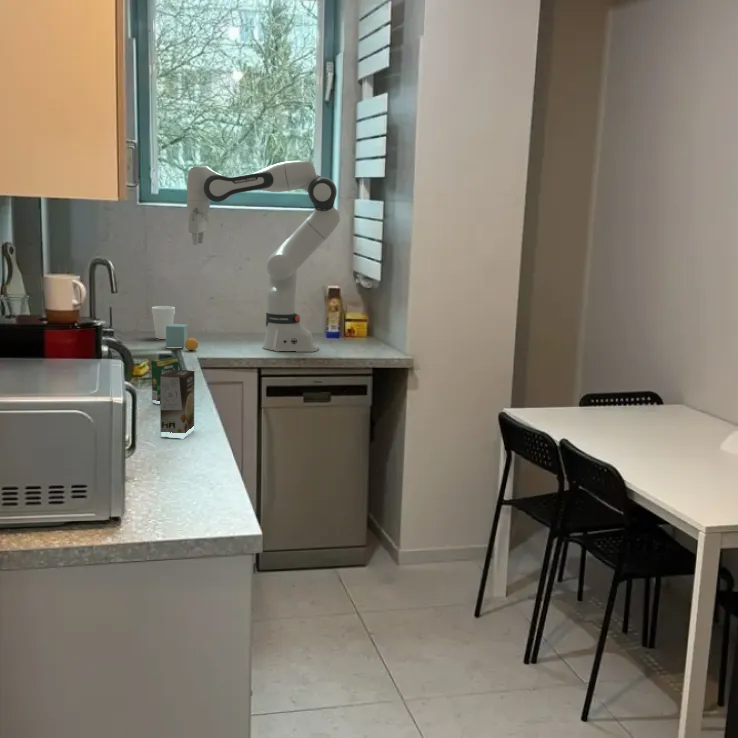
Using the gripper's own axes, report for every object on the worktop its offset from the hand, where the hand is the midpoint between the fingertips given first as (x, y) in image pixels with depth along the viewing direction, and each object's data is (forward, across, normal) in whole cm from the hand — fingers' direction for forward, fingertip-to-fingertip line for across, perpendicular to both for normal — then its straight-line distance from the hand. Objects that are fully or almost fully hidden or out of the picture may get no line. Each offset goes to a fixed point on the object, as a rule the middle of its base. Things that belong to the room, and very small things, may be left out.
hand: (197, 244), depth 353 cm
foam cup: (+41, +14, +17) cm, 46 cm away
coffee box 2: (+41, -99, -11) cm, 108 cm away
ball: (+38, -12, 0) cm, 40 cm away
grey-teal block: (+40, -6, +6) cm, 41 cm away
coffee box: (+40, -133, -22) cm, 141 cm away
